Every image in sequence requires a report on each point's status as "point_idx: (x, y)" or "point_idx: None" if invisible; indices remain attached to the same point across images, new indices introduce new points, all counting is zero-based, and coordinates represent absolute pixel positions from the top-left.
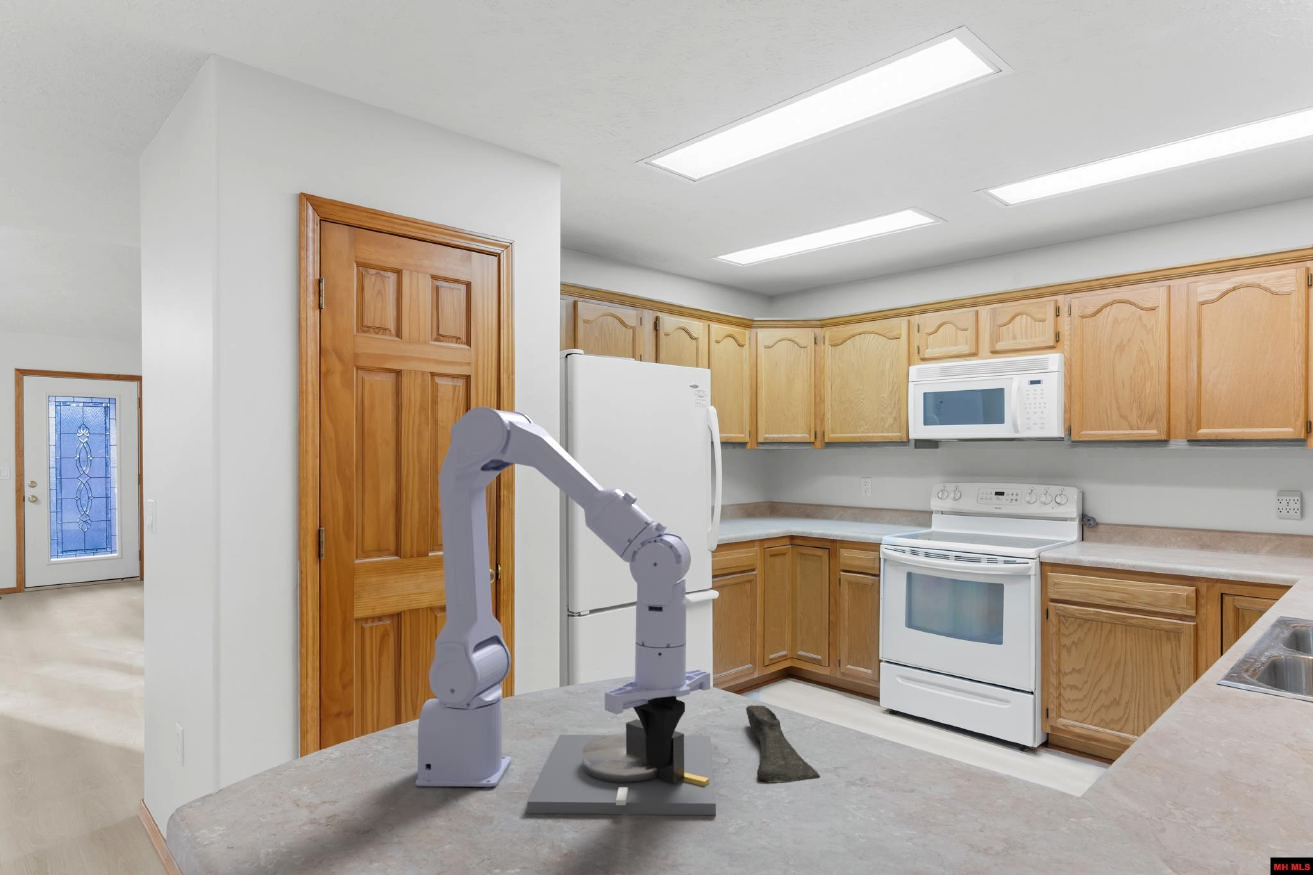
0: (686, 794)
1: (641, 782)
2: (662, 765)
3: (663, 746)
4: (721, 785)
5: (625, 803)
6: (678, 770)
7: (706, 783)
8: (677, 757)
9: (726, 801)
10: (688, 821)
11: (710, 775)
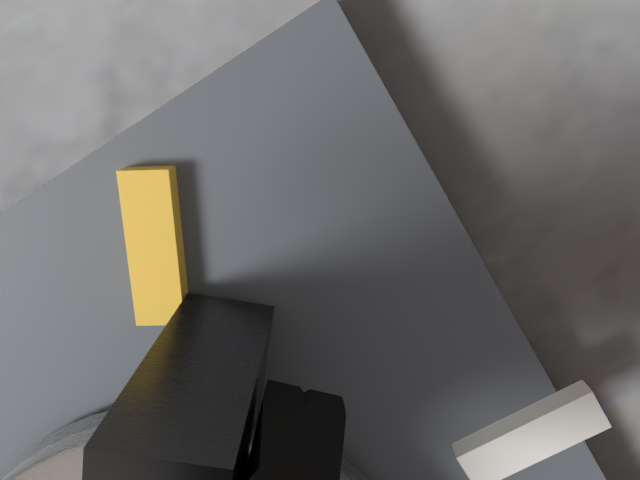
0: (321, 195)
1: None
2: (325, 398)
3: (336, 470)
4: (20, 156)
5: (583, 383)
6: (225, 324)
7: (153, 167)
8: (215, 366)
9: (161, 36)
10: (460, 90)
11: (39, 209)
